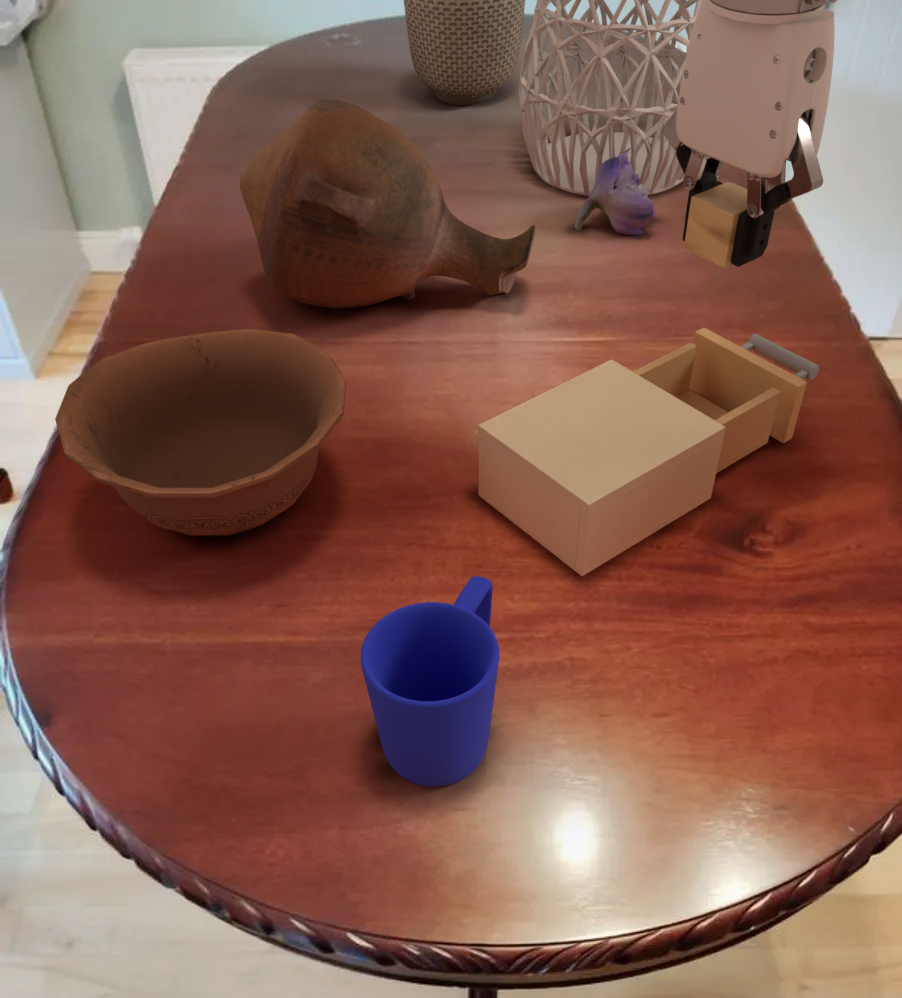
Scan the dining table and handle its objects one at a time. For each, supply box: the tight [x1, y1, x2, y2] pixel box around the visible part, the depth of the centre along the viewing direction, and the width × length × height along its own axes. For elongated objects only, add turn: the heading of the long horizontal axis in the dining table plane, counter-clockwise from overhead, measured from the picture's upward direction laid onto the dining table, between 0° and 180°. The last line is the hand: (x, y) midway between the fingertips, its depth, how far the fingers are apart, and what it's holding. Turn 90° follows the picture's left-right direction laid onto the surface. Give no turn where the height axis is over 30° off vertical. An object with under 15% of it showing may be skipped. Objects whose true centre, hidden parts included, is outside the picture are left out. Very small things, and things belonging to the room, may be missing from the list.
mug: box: [360, 575, 500, 788], centre depth 64 cm, size 8×12×10 cm
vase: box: [518, 0, 702, 197], centre depth 119 cm, size 24×24×30 cm
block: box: [683, 181, 747, 269], centre depth 77 cm, size 4×4×4 cm
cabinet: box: [477, 359, 726, 577], centre depth 81 cm, size 15×13×8 cm
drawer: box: [631, 327, 820, 474], centre depth 87 cm, size 19×11×6 cm, turn 128°
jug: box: [239, 98, 537, 309], centre depth 101 cm, size 20×20×30 cm
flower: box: [573, 148, 656, 236], centre depth 115 cm, size 9×9×10 cm
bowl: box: [54, 328, 347, 537], centre depth 80 cm, size 22×22×11 cm
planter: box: [403, 0, 526, 106], centre depth 143 cm, size 17×17×16 cm
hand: (722, 246), depth 78 cm, fingers closed on block, 4 cm apart
